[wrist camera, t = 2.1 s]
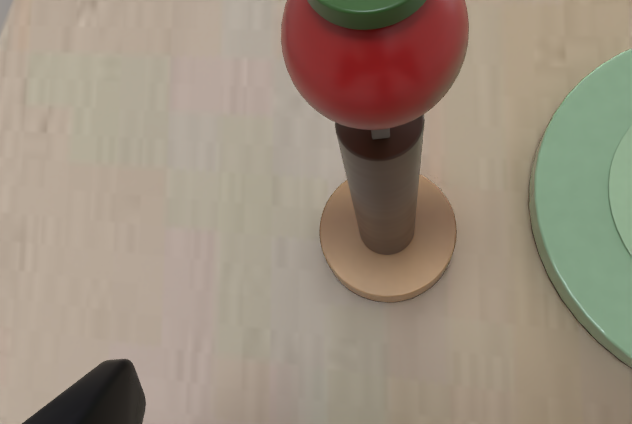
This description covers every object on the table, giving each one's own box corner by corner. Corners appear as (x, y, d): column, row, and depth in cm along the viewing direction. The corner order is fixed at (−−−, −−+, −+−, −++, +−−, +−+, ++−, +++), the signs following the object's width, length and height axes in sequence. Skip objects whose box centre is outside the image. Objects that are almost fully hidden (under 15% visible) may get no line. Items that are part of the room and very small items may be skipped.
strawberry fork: (462, 296, 20) (592, 83, 7) (327, 307, 21) (194, 133, 7) (444, 171, 22) (517, -203, 8) (319, 185, 22) (198, -144, 9)
